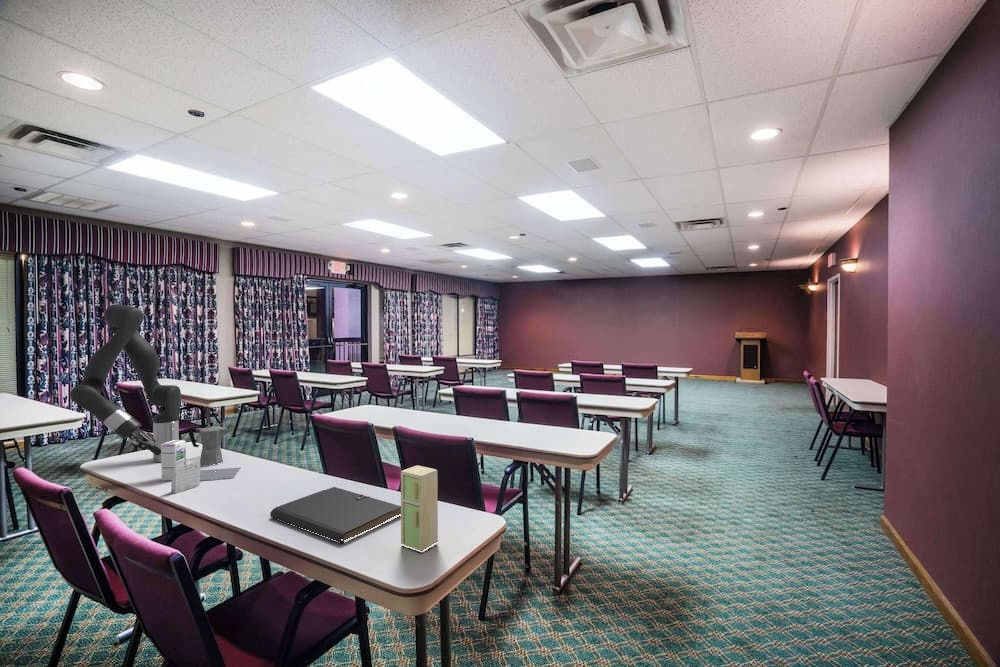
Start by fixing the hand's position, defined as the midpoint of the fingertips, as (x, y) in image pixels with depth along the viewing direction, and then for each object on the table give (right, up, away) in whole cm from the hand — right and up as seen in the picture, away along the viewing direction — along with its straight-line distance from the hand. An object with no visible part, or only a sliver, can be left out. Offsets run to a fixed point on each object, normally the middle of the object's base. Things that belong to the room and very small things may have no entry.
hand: (160, 453), depth 181 cm
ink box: (+17, -11, -10) cm, 22 cm away
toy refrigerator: (+110, -12, -53) cm, 122 cm away
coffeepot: (+5, -10, +22) cm, 25 cm away
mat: (+16, -10, +6) cm, 20 cm away
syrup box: (+4, -10, +2) cm, 11 cm away
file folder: (+81, -12, -34) cm, 88 cm away
